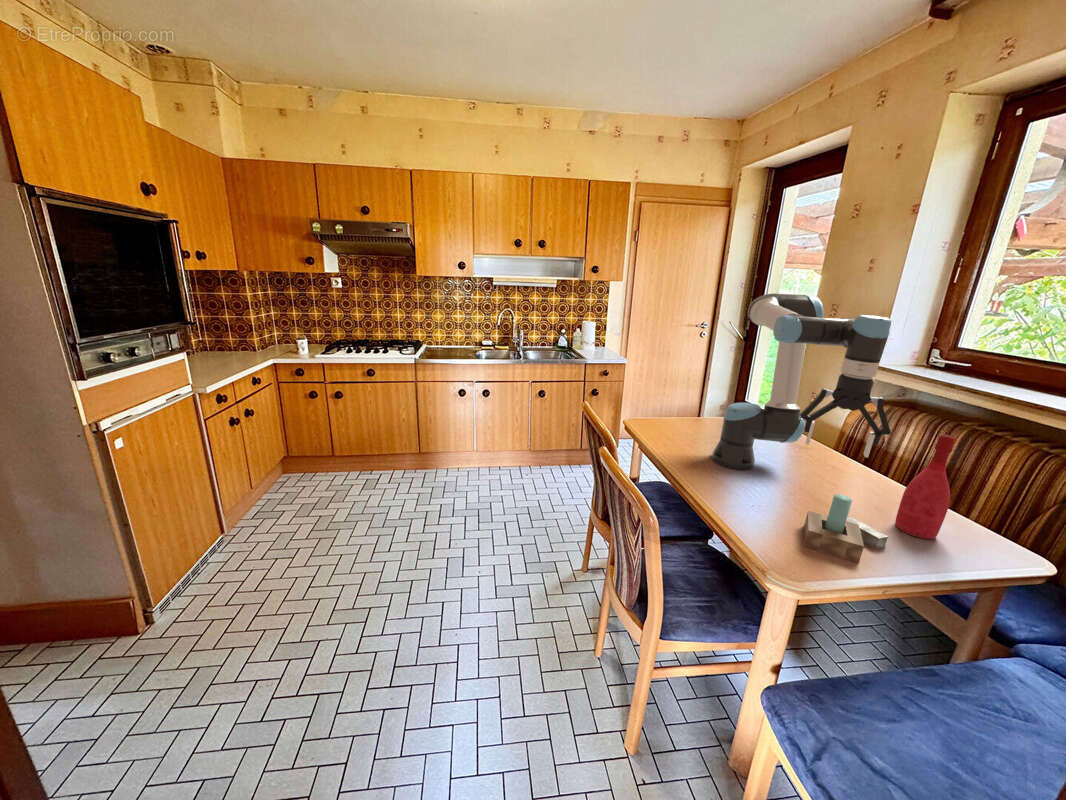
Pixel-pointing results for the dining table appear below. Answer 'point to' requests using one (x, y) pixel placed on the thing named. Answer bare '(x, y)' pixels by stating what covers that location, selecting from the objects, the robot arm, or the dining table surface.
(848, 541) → the socket block
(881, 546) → the grey bar
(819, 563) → the dining table surface
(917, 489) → the wine bottle
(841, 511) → the peg
